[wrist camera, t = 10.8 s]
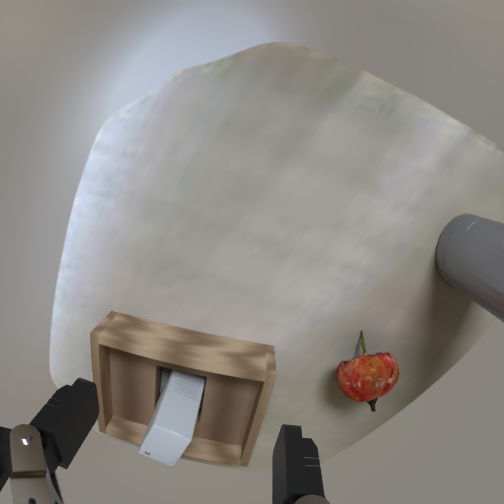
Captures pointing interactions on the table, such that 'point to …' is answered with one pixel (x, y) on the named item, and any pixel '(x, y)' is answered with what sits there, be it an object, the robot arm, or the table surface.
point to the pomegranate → (367, 376)
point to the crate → (190, 361)
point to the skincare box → (173, 418)
